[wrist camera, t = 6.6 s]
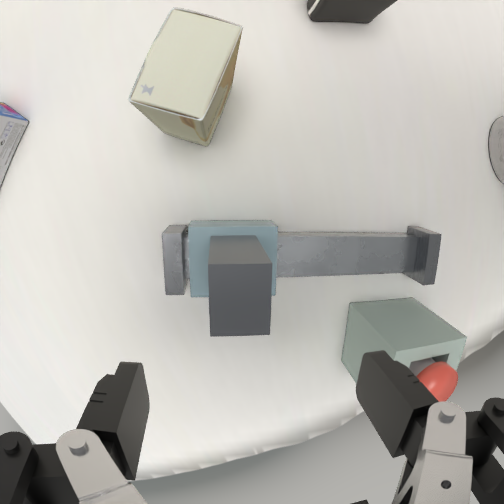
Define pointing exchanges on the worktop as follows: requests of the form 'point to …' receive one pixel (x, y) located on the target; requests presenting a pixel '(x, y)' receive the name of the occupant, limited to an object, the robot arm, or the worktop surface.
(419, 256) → the rail
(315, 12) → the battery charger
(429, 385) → the red button
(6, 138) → the ink cartridge box
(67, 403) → the worktop surface
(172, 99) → the skincare box
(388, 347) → the button housing
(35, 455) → the robot arm
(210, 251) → the carriage
